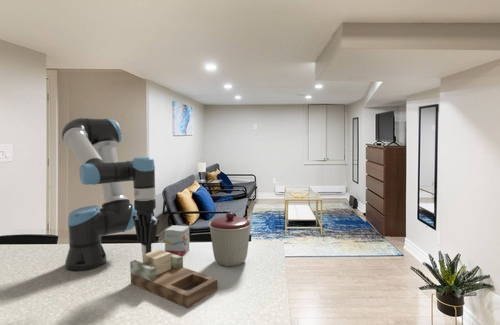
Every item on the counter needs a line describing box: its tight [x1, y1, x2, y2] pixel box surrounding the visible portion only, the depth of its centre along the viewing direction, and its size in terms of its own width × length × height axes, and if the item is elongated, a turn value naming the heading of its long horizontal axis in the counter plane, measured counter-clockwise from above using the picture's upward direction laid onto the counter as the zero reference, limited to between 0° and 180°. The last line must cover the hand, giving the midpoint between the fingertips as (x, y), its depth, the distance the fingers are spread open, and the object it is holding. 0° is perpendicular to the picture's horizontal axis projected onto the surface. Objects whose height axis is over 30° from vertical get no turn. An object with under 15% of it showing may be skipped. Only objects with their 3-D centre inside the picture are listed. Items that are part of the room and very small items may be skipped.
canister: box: [208, 212, 253, 267], centre depth 131 cm, size 18×18×21 cm
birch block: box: [142, 248, 171, 275], centre depth 114 cm, size 7×7×6 cm
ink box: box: [164, 224, 190, 258], centre depth 141 cm, size 9×9×12 cm
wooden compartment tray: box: [129, 253, 219, 310], centre depth 109 cm, size 29×14×8 cm, turn 55°
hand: (146, 260), depth 117 cm, fingers closed
